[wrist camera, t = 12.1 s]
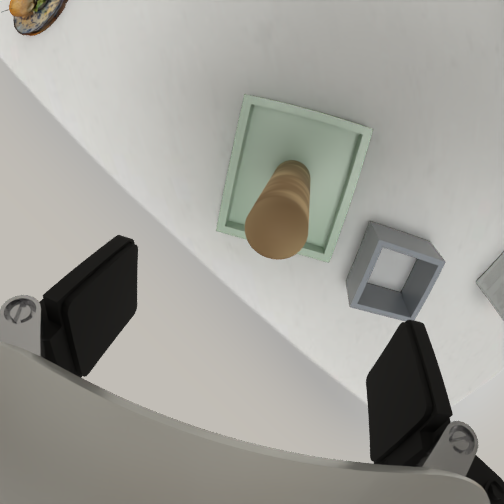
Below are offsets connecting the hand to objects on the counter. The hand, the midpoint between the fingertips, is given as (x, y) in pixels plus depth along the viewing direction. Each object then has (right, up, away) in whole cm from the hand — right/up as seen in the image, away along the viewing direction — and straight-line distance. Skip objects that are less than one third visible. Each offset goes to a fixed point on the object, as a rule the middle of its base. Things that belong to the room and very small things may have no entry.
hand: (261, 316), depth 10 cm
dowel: (+4, +9, +20) cm, 22 cm away
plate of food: (-29, +38, +14) cm, 50 cm away
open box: (+15, +1, +23) cm, 27 cm away
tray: (+4, +10, +21) cm, 23 cm away
